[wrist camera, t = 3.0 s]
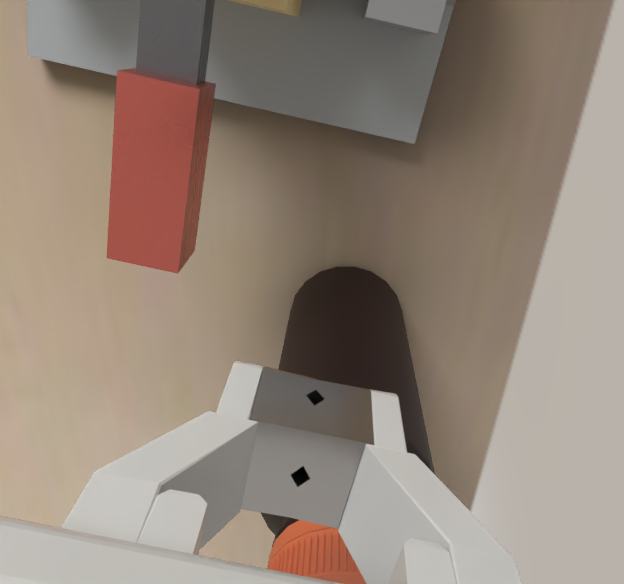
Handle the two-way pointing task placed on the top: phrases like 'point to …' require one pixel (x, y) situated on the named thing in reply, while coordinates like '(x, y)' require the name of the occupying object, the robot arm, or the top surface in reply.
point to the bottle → (353, 372)
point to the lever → (162, 137)
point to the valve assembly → (279, 54)
